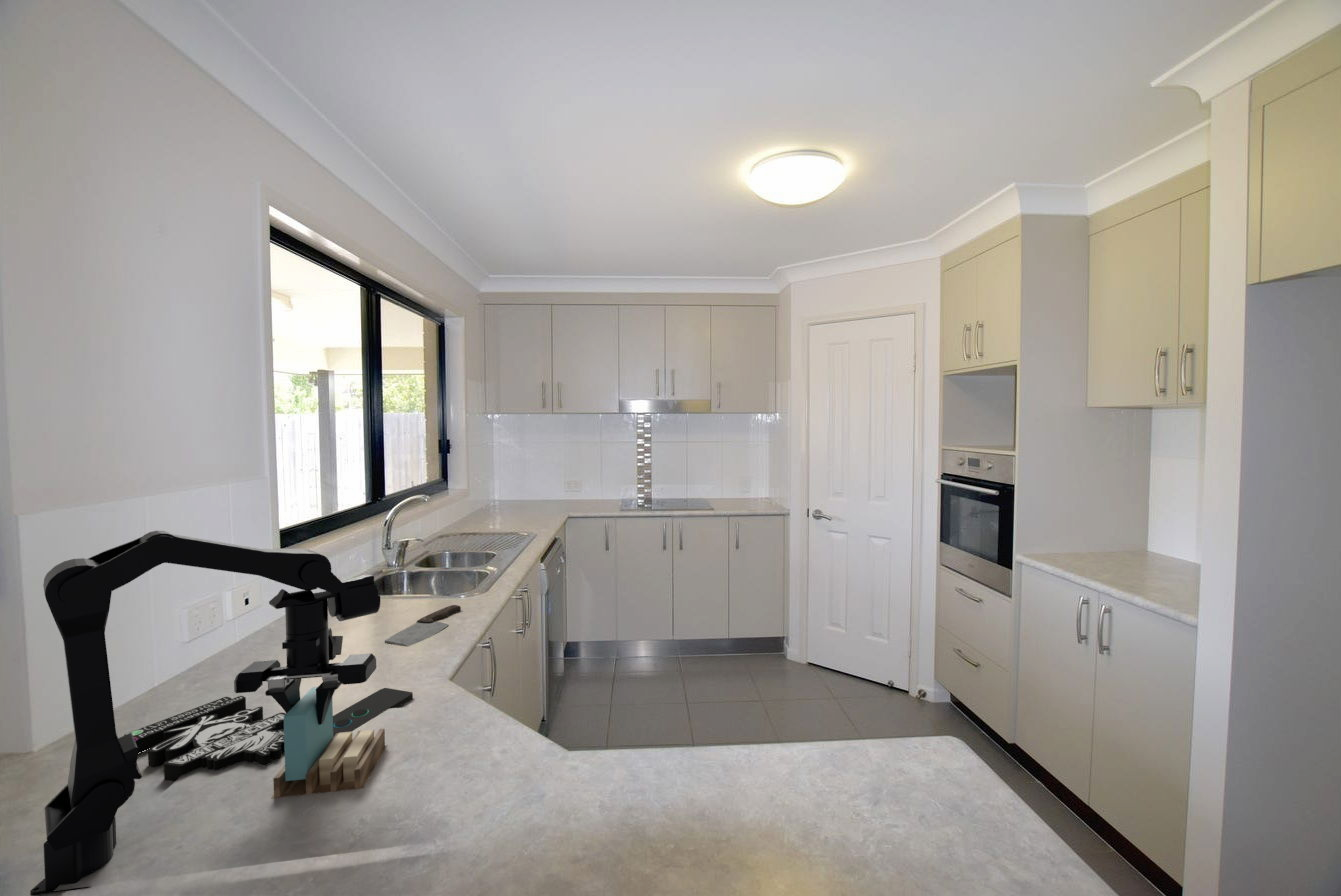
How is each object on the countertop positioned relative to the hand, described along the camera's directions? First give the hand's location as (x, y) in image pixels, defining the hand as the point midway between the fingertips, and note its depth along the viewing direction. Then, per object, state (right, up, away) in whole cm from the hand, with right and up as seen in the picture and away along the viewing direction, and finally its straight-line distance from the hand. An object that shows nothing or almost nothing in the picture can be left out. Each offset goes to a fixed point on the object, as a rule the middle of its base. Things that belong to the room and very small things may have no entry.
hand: (309, 724), depth 91 cm
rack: (+3, -9, +1) cm, 9 cm away
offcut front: (+7, -8, +2) cm, 11 cm away
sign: (-22, -9, +9) cm, 25 cm away
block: (0, -6, 0) cm, 6 cm away
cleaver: (-11, -7, +71) cm, 72 cm away
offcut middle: (+4, -8, +1) cm, 9 cm away
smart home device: (-3, -9, +19) cm, 21 cm away
